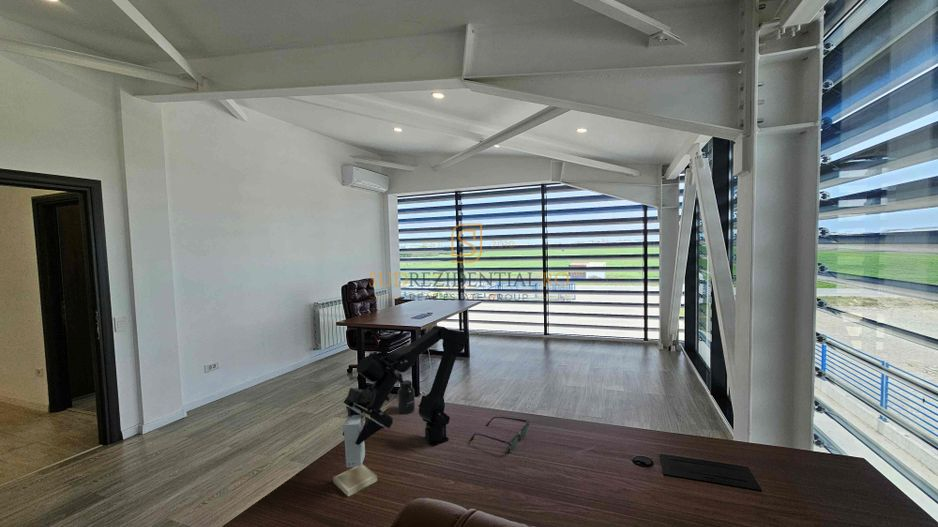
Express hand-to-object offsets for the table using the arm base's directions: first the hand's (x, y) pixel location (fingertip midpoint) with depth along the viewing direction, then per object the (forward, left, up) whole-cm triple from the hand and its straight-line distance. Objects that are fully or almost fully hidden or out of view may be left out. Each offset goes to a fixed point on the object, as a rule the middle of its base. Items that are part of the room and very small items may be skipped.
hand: (350, 439), depth 101 cm
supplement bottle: (-33, -34, -13) cm, 49 cm away
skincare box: (-1, 0, -7) cm, 7 cm away
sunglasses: (-49, +7, -14) cm, 51 cm away
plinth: (-1, -1, -13) cm, 13 cm away
